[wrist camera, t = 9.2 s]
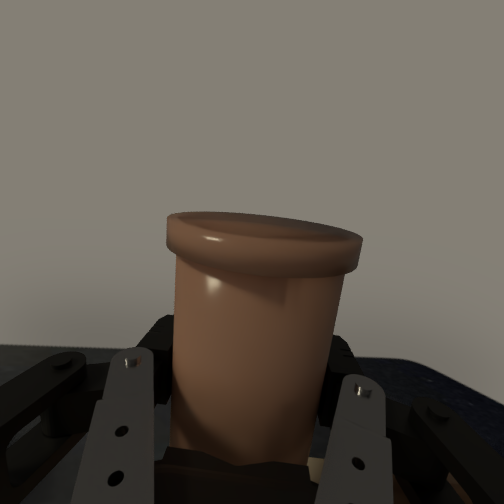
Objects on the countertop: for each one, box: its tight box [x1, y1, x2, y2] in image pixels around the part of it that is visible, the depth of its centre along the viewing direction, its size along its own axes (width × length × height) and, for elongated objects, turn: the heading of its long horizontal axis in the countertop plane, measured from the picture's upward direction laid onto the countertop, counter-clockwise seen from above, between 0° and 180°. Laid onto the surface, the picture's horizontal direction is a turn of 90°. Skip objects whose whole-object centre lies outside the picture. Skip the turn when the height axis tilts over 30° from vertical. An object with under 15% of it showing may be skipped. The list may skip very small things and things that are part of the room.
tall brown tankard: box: [166, 212, 363, 466], centre depth 11 cm, size 6×8×14 cm
